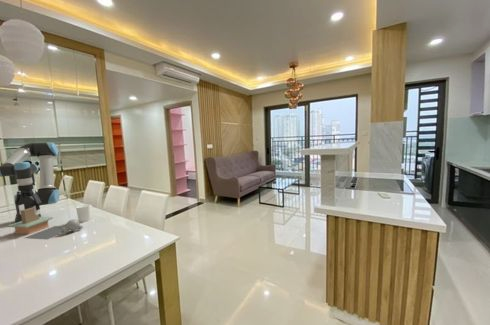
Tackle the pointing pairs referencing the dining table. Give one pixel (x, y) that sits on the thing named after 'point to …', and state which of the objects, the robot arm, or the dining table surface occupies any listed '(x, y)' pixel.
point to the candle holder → (84, 212)
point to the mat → (47, 233)
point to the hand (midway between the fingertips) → (30, 214)
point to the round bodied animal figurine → (71, 227)
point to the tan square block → (31, 228)
